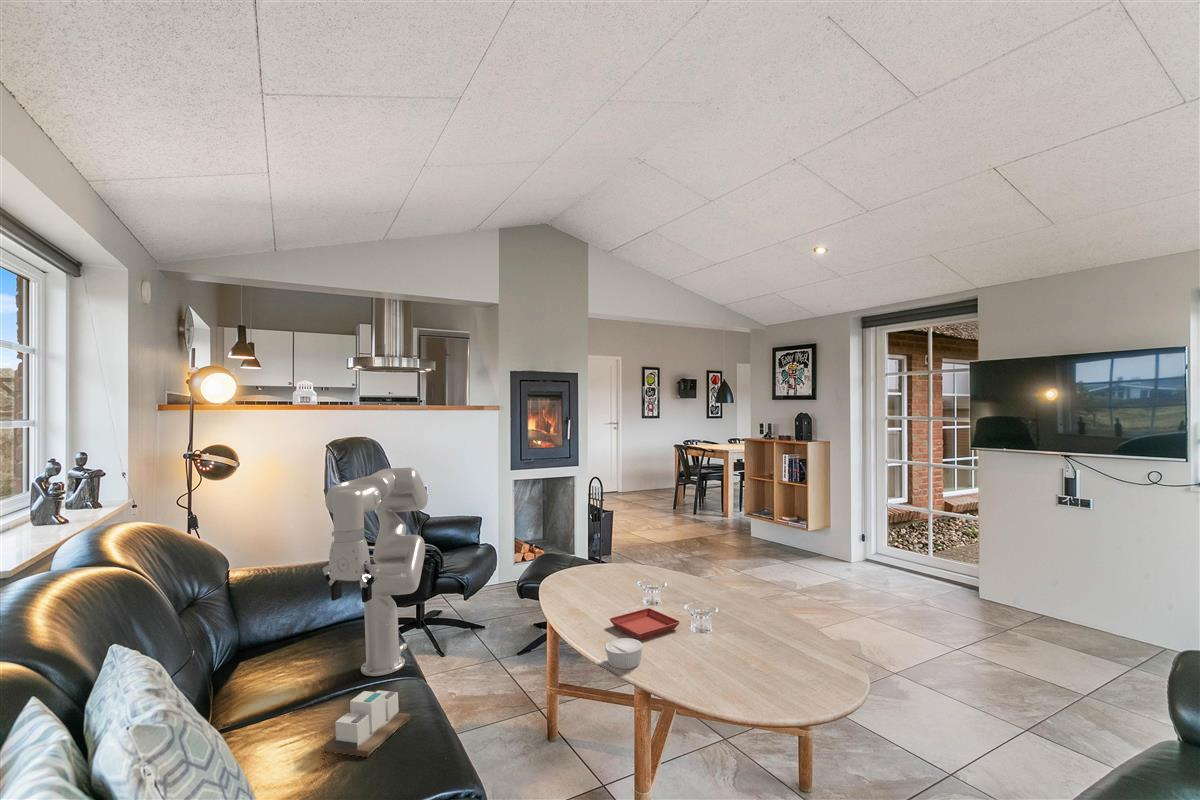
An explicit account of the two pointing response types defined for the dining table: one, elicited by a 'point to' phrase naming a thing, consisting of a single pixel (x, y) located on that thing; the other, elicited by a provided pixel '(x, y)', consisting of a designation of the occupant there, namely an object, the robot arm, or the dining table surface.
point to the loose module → (370, 708)
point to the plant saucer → (644, 623)
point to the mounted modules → (363, 721)
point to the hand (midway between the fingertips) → (351, 599)
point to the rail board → (371, 741)
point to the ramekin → (624, 653)
